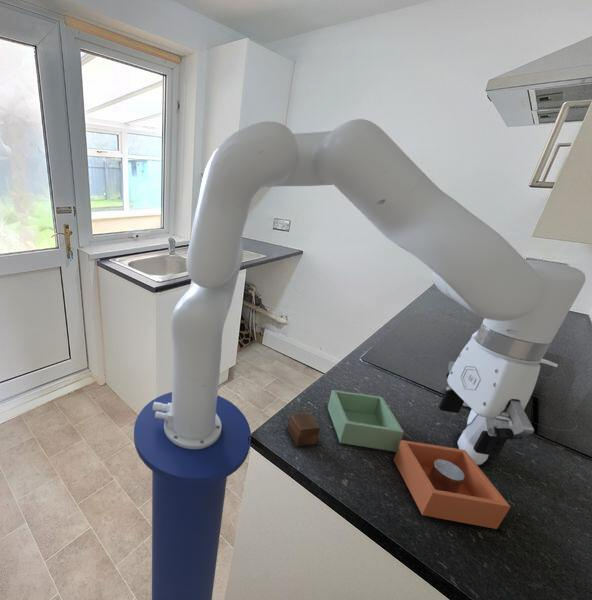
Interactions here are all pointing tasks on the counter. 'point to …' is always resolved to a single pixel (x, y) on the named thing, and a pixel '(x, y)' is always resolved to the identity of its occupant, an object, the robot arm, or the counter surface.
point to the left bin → (364, 421)
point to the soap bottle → (479, 431)
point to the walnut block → (303, 429)
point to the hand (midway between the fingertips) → (464, 430)
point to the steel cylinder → (446, 476)
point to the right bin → (446, 505)
